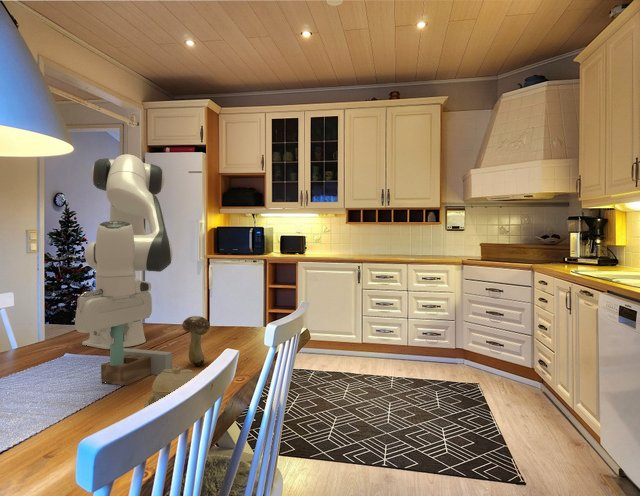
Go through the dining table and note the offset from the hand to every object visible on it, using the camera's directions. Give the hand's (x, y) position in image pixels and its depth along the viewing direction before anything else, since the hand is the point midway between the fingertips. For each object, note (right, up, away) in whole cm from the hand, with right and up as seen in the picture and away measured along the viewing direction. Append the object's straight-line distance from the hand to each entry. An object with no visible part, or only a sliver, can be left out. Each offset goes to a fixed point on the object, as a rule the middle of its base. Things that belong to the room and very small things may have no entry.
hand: (116, 343), depth 103 cm
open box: (-4, -13, +14) cm, 19 cm away
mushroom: (+12, -13, +26) cm, 31 cm away
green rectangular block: (0, -5, 0) cm, 5 cm away
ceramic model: (+18, -14, -8) cm, 24 cm away
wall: (-2, -13, +20) cm, 24 cm away
